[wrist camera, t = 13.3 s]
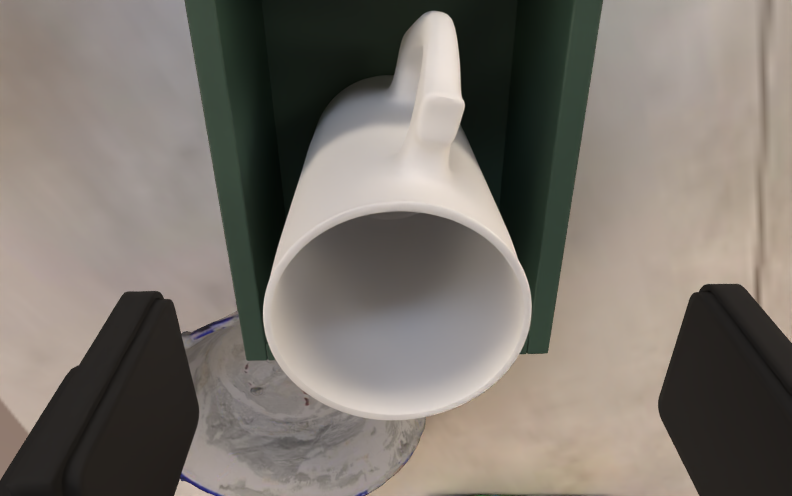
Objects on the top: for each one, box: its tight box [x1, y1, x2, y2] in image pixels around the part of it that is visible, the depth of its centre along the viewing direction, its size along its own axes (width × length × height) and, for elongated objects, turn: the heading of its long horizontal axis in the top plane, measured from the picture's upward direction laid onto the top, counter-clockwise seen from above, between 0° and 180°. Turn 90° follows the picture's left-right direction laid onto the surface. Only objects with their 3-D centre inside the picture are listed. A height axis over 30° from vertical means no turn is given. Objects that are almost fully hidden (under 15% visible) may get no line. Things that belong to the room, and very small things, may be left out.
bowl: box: [180, 311, 426, 496], centre depth 30 cm, size 13×13×5 cm
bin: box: [185, 0, 603, 361], centre depth 22 cm, size 11×14×8 cm
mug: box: [263, 11, 532, 420], centre depth 20 cm, size 10×7×12 cm, turn 168°
